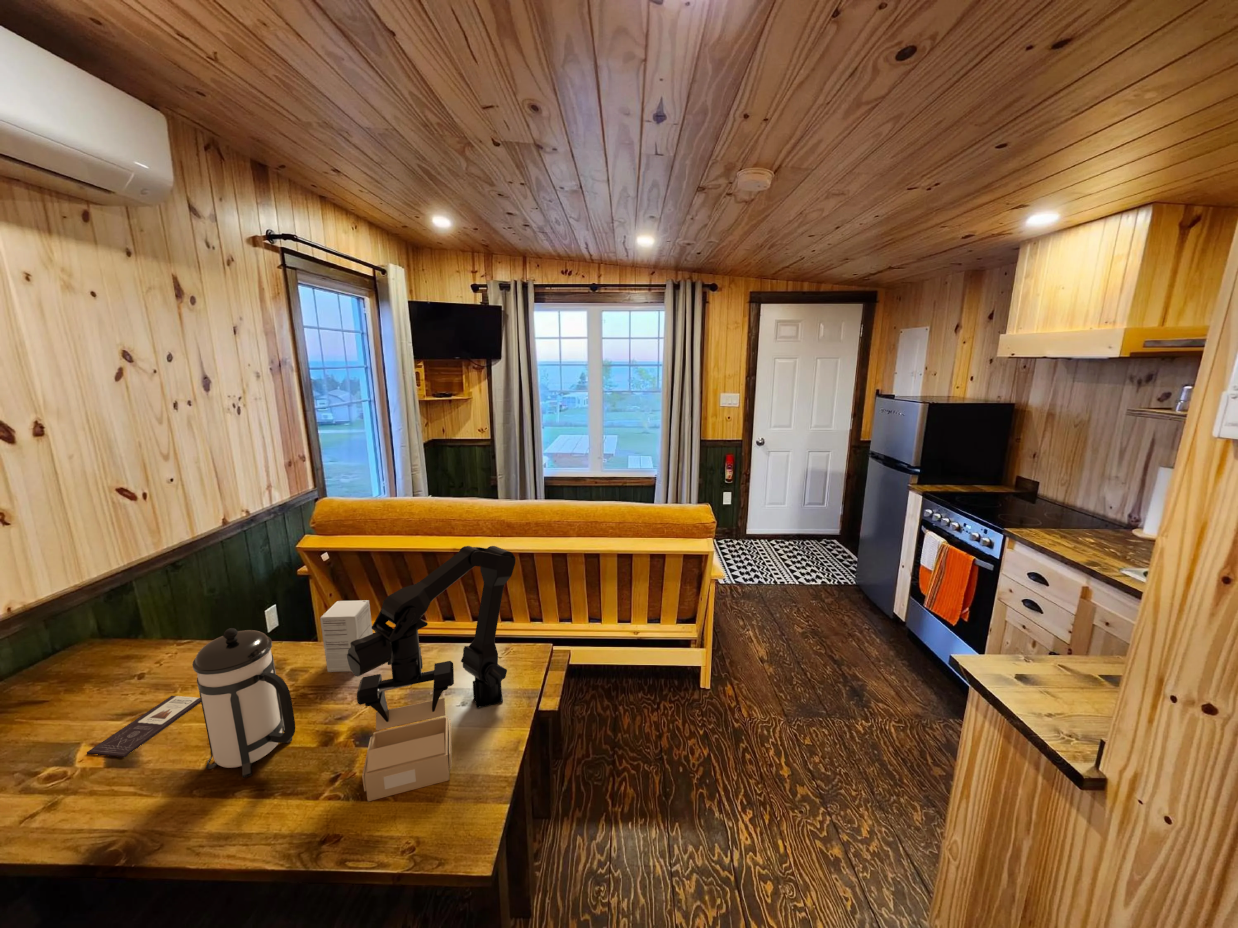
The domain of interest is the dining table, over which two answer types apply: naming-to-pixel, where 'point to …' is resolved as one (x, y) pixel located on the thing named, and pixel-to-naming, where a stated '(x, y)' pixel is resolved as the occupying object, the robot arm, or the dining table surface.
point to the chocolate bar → (145, 726)
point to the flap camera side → (405, 751)
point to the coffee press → (242, 699)
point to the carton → (412, 771)
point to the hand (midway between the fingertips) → (411, 715)
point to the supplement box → (344, 631)
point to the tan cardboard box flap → (411, 714)
